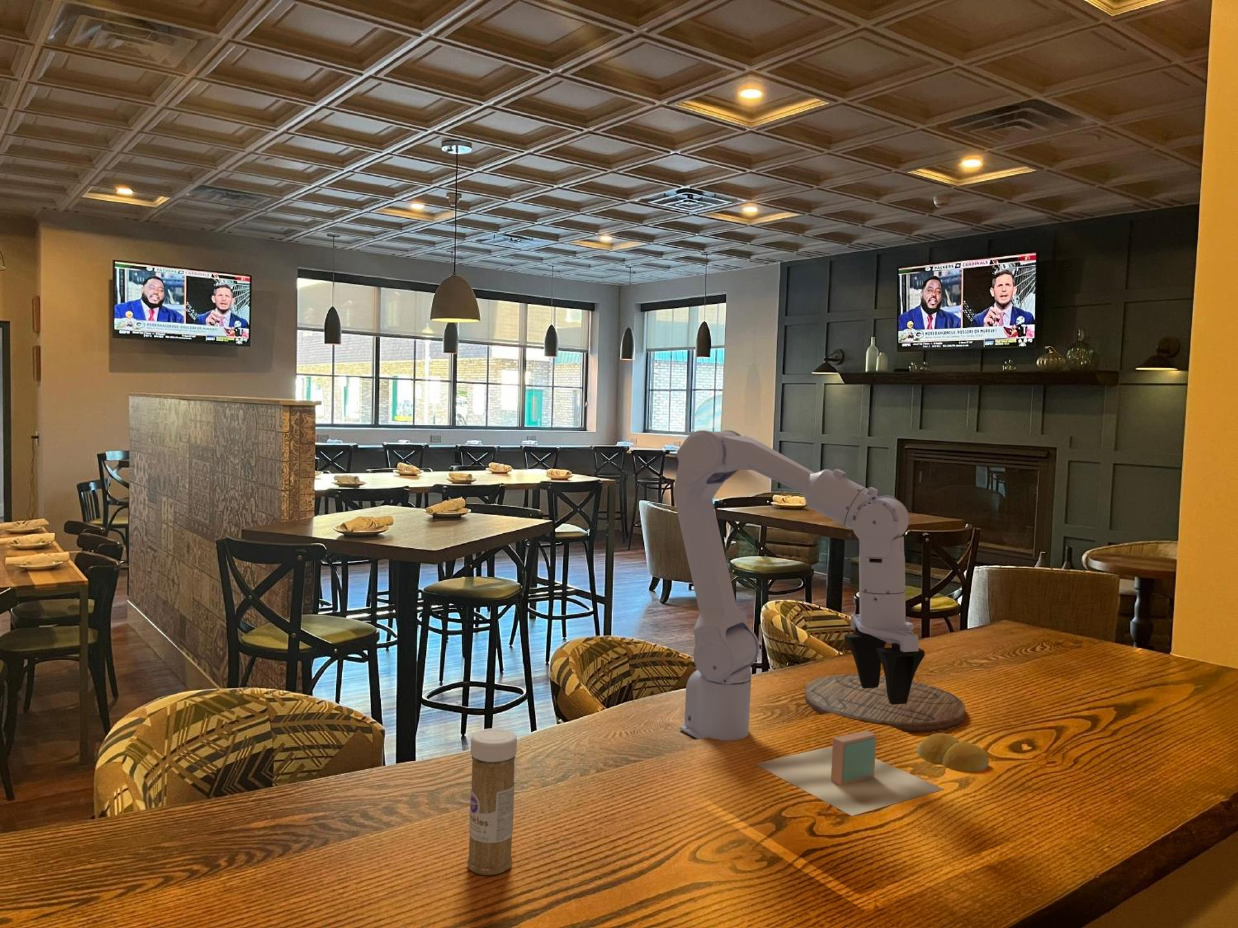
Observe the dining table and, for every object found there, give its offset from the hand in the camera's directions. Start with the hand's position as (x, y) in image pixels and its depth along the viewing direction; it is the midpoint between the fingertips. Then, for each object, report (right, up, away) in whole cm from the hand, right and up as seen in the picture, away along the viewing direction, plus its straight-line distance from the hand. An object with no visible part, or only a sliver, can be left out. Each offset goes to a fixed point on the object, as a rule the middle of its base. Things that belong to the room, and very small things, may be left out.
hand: (883, 695), depth 116 cm
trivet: (+9, -10, +30) cm, 33 cm away
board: (-5, -11, -2) cm, 12 cm away
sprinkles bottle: (-47, -11, -26) cm, 55 cm away
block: (-5, -10, -3) cm, 11 cm away
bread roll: (+11, -11, +5) cm, 17 cm away
